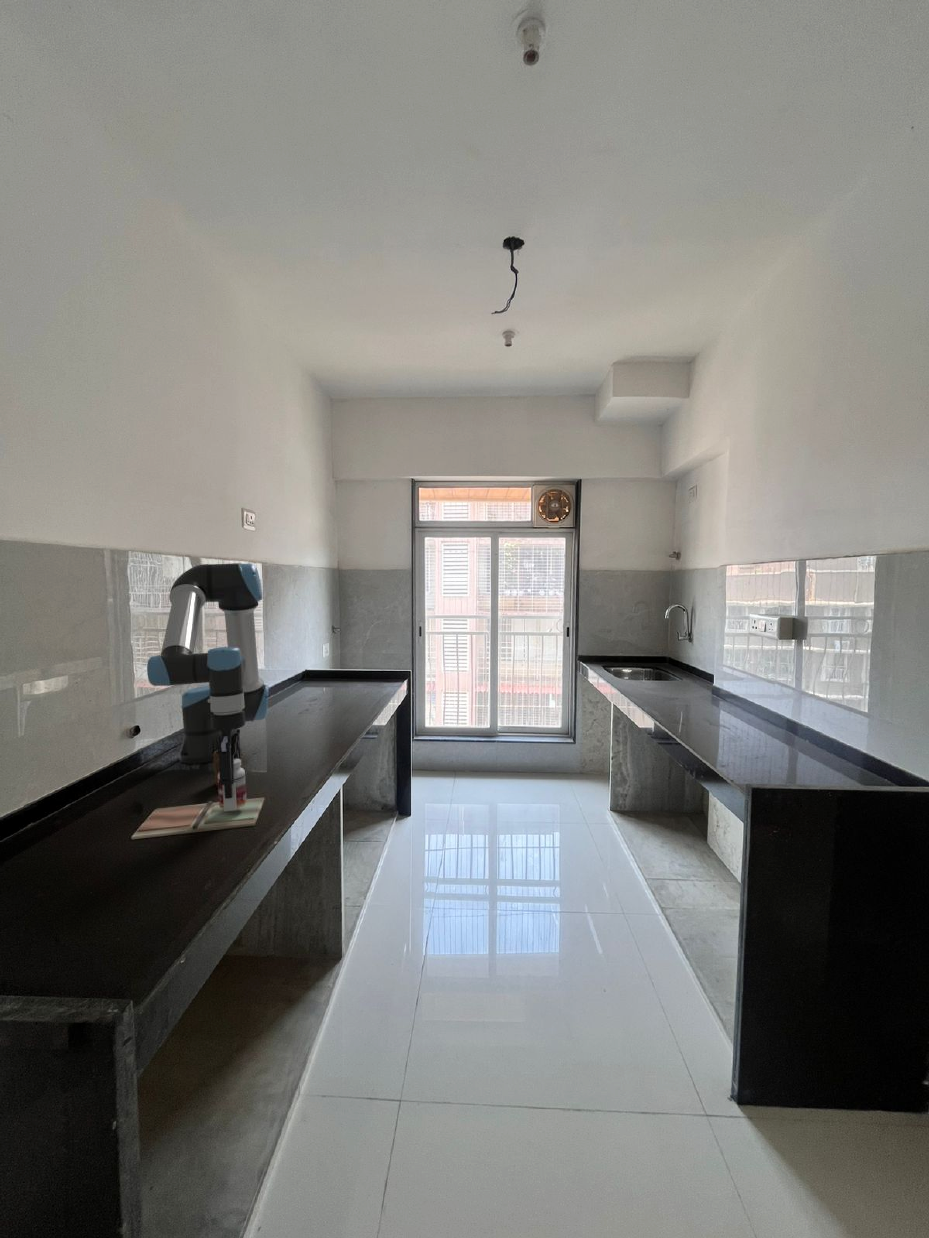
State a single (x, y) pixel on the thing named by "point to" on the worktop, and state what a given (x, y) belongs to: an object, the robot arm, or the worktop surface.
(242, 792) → the pill bottle
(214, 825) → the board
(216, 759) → the mug
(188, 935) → the worktop surface
